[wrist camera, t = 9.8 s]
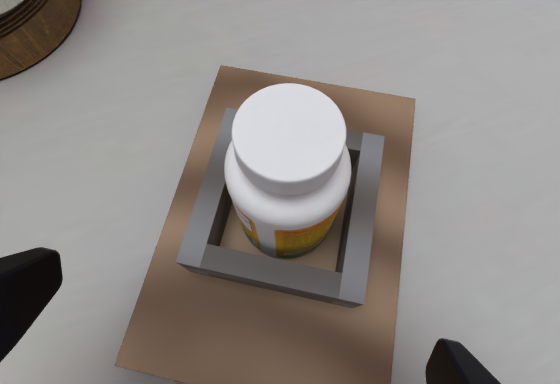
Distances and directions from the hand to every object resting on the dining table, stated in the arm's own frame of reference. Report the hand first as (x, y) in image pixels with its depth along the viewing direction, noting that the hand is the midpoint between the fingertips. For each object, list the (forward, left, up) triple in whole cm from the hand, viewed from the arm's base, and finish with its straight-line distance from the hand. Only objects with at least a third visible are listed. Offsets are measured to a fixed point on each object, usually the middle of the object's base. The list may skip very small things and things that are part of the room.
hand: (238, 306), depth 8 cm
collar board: (+2, -6, -13) cm, 14 cm away
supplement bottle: (+2, -6, -12) cm, 13 cm away
